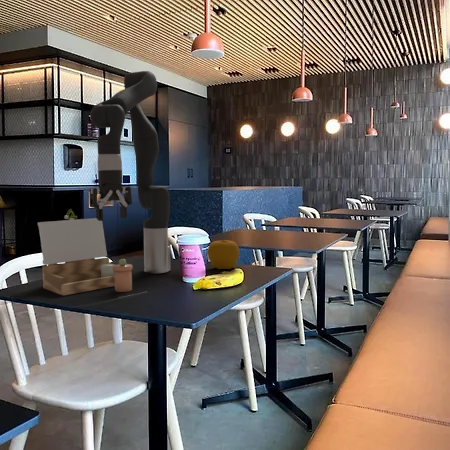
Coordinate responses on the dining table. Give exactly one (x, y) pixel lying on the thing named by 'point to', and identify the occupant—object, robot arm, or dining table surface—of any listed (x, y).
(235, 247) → the apple
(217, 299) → the dining table surface
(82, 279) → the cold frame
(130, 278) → the terracotta pot
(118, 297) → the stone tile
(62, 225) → the lid
